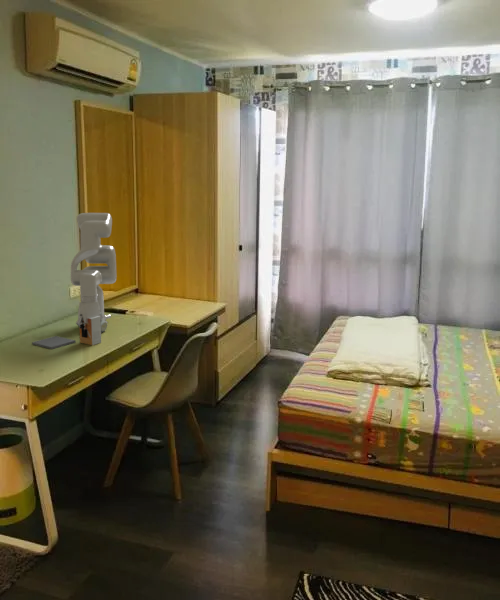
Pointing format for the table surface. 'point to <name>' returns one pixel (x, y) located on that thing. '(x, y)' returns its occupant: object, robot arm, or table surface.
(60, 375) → the table surface
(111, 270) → the robot arm
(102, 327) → the air freshener
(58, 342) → the rest mat
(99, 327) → the small box
